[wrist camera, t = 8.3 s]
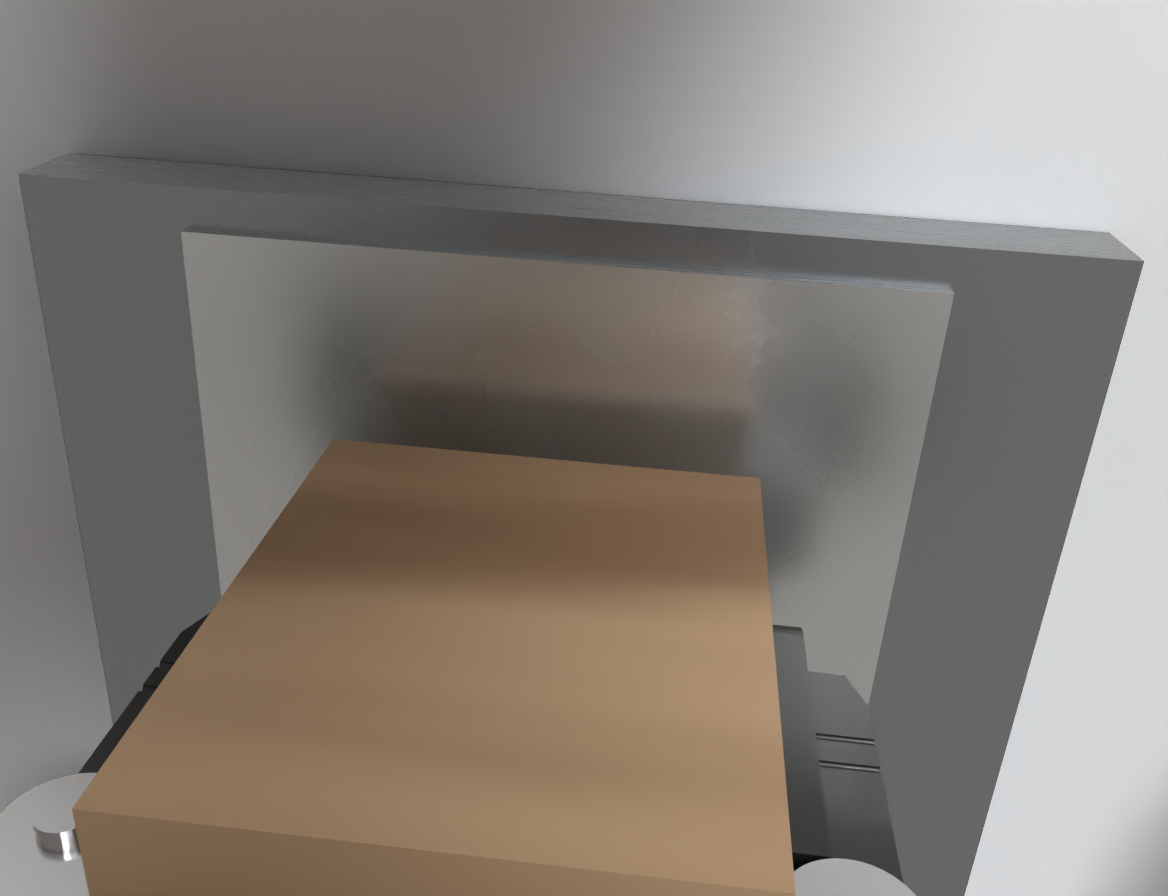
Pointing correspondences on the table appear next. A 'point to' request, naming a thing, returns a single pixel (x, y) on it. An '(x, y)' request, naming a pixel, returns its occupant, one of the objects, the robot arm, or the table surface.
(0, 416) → the table surface
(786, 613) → the grey assembly fixture
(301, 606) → the block
